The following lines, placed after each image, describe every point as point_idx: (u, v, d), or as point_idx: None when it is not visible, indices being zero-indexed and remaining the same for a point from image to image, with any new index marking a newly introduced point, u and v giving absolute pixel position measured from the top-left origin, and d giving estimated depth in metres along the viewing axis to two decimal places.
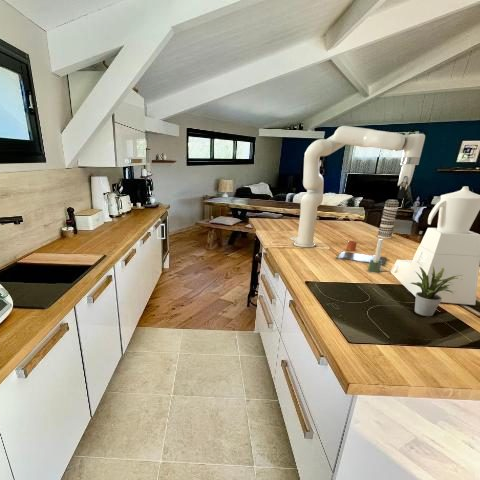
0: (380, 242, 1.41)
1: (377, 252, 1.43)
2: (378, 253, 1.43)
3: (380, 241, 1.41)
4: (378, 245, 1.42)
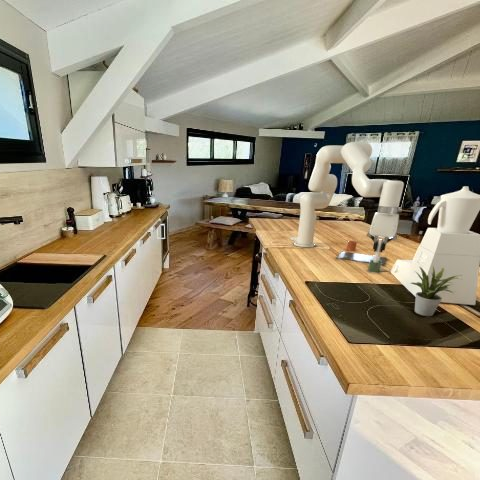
0: (380, 242, 1.41)
1: (377, 252, 1.43)
2: (378, 253, 1.43)
3: (380, 241, 1.41)
4: (378, 245, 1.42)
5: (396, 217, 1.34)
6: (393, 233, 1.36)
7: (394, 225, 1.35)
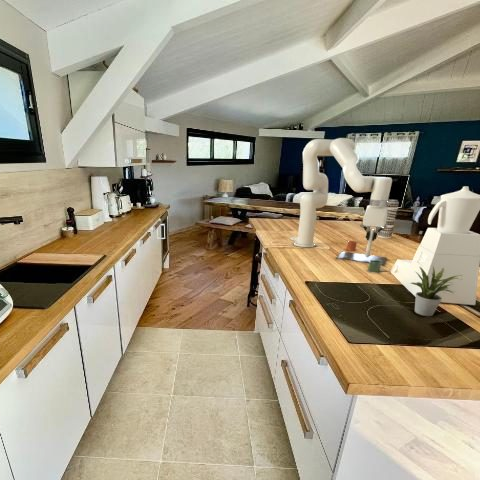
0: (372, 232, 1.59)
1: (369, 241, 1.61)
2: (370, 242, 1.61)
3: (372, 231, 1.59)
4: (370, 234, 1.60)
5: (386, 209, 1.52)
6: (383, 223, 1.54)
7: (384, 216, 1.53)
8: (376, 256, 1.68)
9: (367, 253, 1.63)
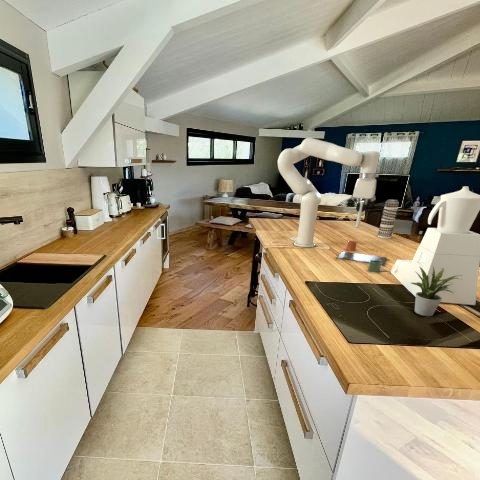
0: (361, 203, 1.72)
1: (359, 212, 1.74)
2: (360, 212, 1.74)
3: (361, 202, 1.72)
4: (360, 206, 1.73)
5: (374, 181, 1.65)
6: (371, 195, 1.67)
7: (372, 188, 1.66)
8: (376, 256, 1.68)
9: (357, 223, 1.76)
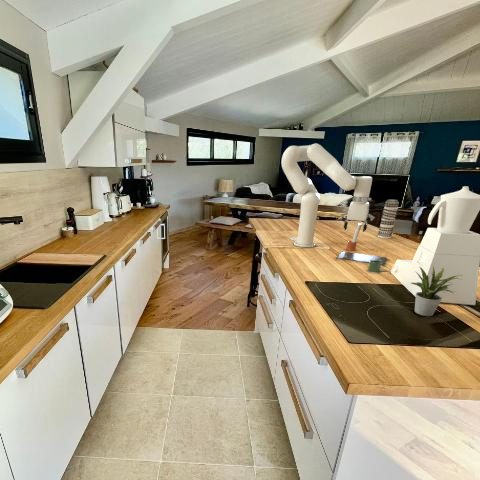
0: (359, 226, 1.78)
1: (355, 234, 1.80)
2: (356, 235, 1.80)
3: (359, 225, 1.78)
4: (357, 228, 1.79)
5: (367, 205, 1.72)
6: (365, 217, 1.74)
7: (365, 211, 1.72)
8: (376, 256, 1.68)
9: None
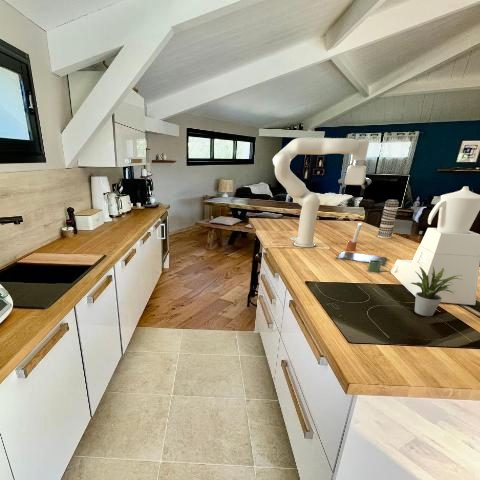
0: (359, 226, 1.78)
1: (355, 234, 1.80)
2: (356, 235, 1.80)
3: (359, 225, 1.78)
4: (357, 228, 1.79)
5: (364, 168, 1.74)
6: (362, 181, 1.76)
7: (362, 175, 1.75)
8: (376, 256, 1.68)
9: None
